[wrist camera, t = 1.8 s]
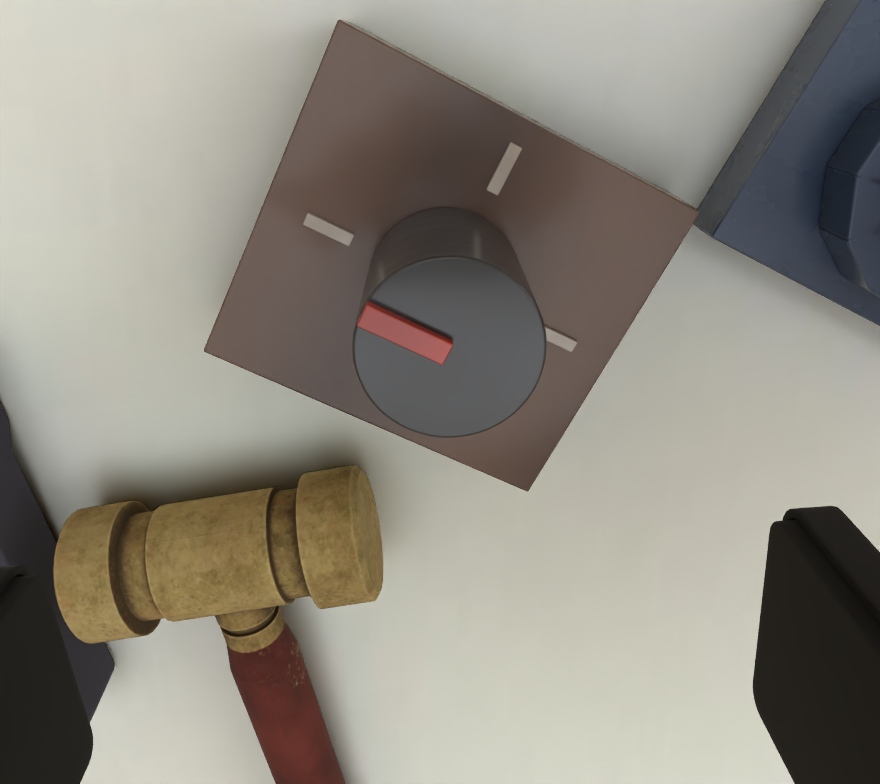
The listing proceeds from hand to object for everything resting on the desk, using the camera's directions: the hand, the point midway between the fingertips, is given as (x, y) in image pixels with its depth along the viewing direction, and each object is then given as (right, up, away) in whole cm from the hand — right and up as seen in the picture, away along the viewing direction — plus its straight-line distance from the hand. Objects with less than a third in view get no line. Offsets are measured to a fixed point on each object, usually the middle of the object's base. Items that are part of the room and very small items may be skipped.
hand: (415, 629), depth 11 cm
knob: (0, +6, +13) cm, 14 cm away
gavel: (-6, -9, +23) cm, 25 cm away
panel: (0, +7, +16) cm, 17 cm away
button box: (+14, +10, +15) cm, 23 cm away
